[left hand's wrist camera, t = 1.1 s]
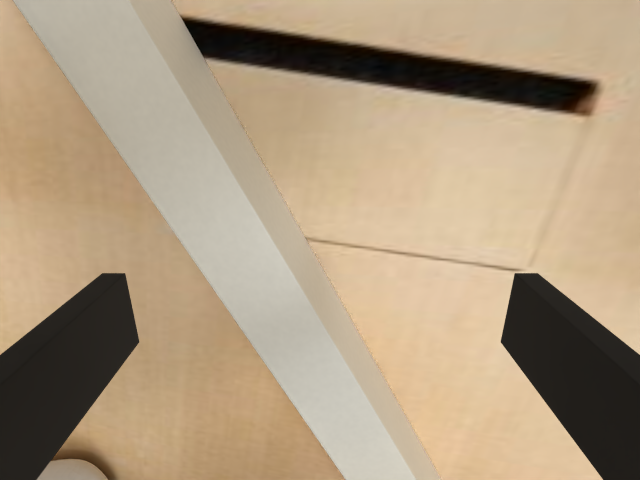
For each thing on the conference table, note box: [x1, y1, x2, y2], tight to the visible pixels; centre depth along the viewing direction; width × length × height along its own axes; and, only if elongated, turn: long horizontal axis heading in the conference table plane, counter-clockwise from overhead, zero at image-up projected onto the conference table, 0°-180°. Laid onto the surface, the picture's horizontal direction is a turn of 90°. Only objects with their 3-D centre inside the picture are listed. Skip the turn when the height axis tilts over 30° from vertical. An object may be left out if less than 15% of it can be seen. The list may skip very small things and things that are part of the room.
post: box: [13, 0, 441, 480], centre depth 30 cm, size 59×5×9 cm, turn 27°
